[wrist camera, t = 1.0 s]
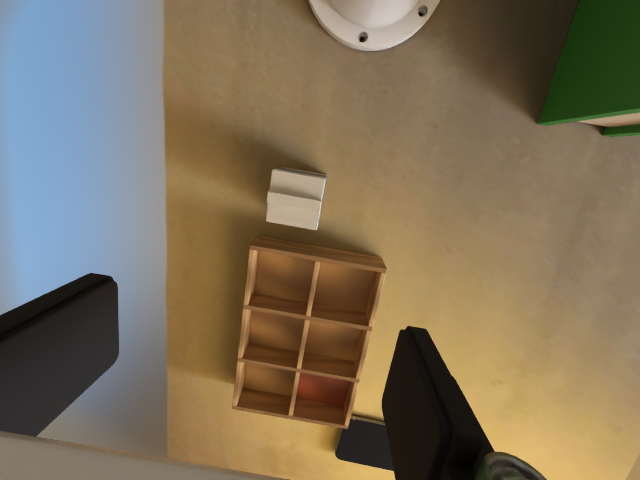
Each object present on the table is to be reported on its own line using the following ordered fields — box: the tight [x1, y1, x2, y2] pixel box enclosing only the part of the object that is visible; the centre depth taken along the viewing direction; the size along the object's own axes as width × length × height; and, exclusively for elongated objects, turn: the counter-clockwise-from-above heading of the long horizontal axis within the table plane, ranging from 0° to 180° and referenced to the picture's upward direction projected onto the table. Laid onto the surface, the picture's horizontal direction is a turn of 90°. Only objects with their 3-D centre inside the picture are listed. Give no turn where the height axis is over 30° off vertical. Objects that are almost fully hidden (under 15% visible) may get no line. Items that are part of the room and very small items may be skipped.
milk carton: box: [266, 167, 327, 230], centre depth 30 cm, size 5×5×6 cm
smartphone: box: [335, 416, 394, 471], centre depth 41 cm, size 7×1×15 cm
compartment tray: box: [232, 236, 387, 429], centre depth 35 cm, size 21×14×4 cm
